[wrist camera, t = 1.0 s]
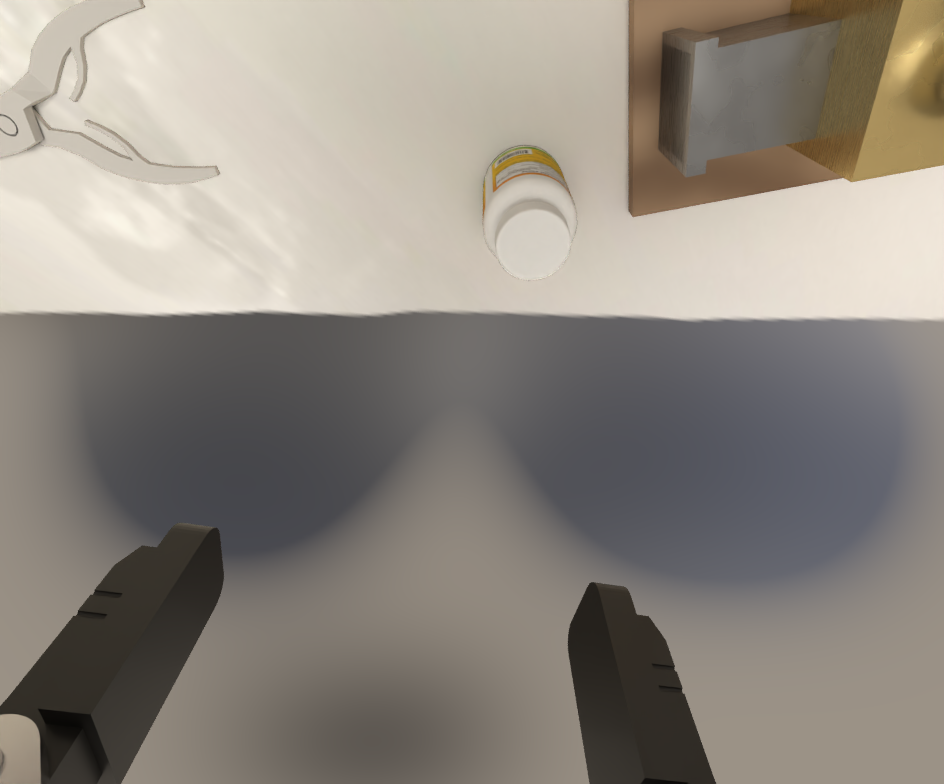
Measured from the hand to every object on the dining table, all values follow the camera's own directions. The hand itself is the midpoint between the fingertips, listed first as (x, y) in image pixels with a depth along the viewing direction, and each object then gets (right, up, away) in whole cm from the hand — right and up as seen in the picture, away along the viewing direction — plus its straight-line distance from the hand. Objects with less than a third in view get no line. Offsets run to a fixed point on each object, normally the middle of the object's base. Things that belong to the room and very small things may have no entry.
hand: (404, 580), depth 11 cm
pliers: (-24, +22, +20) cm, 38 cm away
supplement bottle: (+5, +18, +23) cm, 29 cm away
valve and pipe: (+23, +24, +17) cm, 37 cm away
